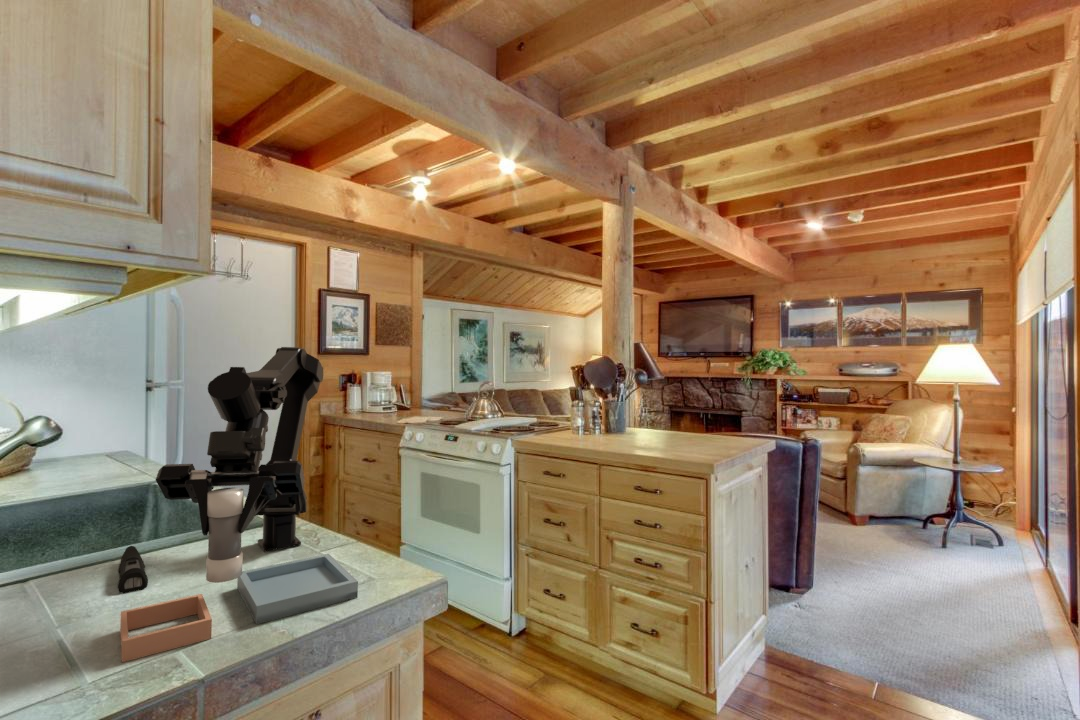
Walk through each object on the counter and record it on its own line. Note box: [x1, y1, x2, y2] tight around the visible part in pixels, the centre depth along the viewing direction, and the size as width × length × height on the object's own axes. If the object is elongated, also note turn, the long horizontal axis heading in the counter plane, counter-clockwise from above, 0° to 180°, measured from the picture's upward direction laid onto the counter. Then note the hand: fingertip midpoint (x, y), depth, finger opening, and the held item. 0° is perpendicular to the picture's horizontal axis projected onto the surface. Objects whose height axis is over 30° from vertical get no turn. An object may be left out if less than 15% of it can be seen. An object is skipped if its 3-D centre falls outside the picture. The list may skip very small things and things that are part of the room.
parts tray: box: [236, 553, 359, 625], centre depth 84 cm, size 14×14×2 cm
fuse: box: [205, 487, 245, 583], centre depth 76 cm, size 4×4×12 cm
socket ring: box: [120, 593, 213, 663], centre depth 71 cm, size 9×9×2 cm
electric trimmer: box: [117, 545, 149, 594], centre depth 89 cm, size 4×16×3 cm, turn 38°
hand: (222, 533), depth 75 cm, fingers closed on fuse, 4 cm apart
